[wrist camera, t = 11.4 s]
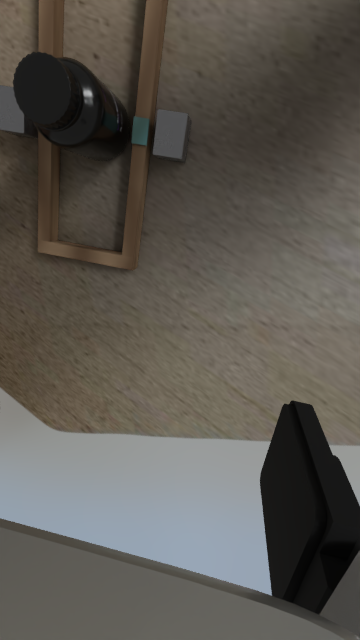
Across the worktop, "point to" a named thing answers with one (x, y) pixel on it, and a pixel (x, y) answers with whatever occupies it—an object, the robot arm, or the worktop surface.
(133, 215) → the walnut rails
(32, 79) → the supplement bottle
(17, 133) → the pivot blocks
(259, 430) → the worktop surface
